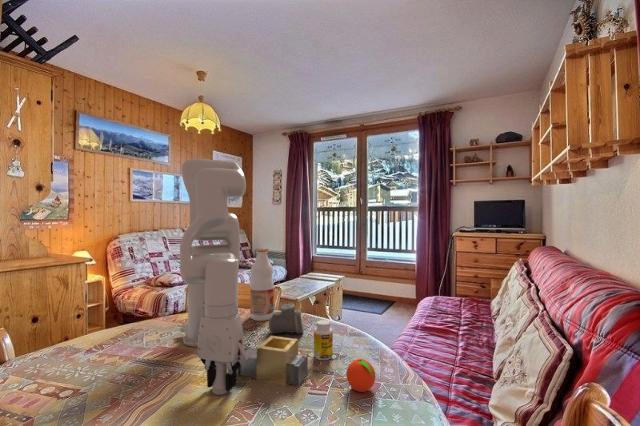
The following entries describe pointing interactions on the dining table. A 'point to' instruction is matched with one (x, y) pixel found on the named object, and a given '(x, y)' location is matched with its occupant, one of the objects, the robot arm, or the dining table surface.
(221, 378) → the rook chess piece
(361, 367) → the clementine
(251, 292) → the fruit juice
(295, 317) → the pipe fitting
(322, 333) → the supplement bottle
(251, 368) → the valve body
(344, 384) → the dining table surface
